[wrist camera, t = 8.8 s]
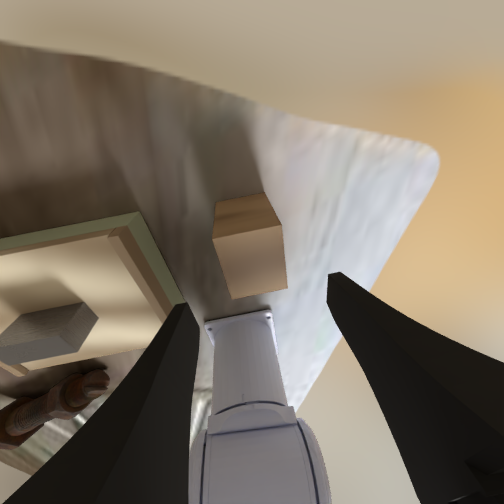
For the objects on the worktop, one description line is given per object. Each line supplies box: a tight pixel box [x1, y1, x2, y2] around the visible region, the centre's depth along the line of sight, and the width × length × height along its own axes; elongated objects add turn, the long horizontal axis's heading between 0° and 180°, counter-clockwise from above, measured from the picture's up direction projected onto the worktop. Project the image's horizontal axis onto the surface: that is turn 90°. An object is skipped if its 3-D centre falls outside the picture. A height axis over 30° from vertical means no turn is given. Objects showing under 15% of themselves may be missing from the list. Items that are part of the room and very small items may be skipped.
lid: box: [0, 228, 162, 370], centre depth 16 cm, size 12×14×4 cm
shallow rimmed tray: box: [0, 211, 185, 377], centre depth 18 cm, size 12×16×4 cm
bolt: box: [0, 370, 110, 450], centre depth 26 cm, size 6×5×15 cm
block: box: [212, 192, 288, 300], centre depth 15 cm, size 5×4×6 cm
